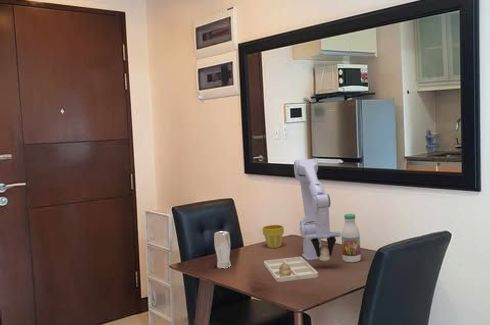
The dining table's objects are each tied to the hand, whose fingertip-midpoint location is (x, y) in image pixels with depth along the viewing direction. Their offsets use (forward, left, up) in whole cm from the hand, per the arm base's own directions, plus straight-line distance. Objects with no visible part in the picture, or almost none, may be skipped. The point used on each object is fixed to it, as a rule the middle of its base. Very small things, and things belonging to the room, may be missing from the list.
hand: (324, 255), depth 213 cm
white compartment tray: (-1, -15, -5) cm, 15 cm away
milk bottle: (-7, +14, -6) cm, 17 cm away
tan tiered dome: (+7, -19, -5) cm, 20 cm away
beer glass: (-19, -40, -6) cm, 44 cm away
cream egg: (0, 0, -2) cm, 2 cm away
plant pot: (-43, -12, -6) cm, 45 cm away
